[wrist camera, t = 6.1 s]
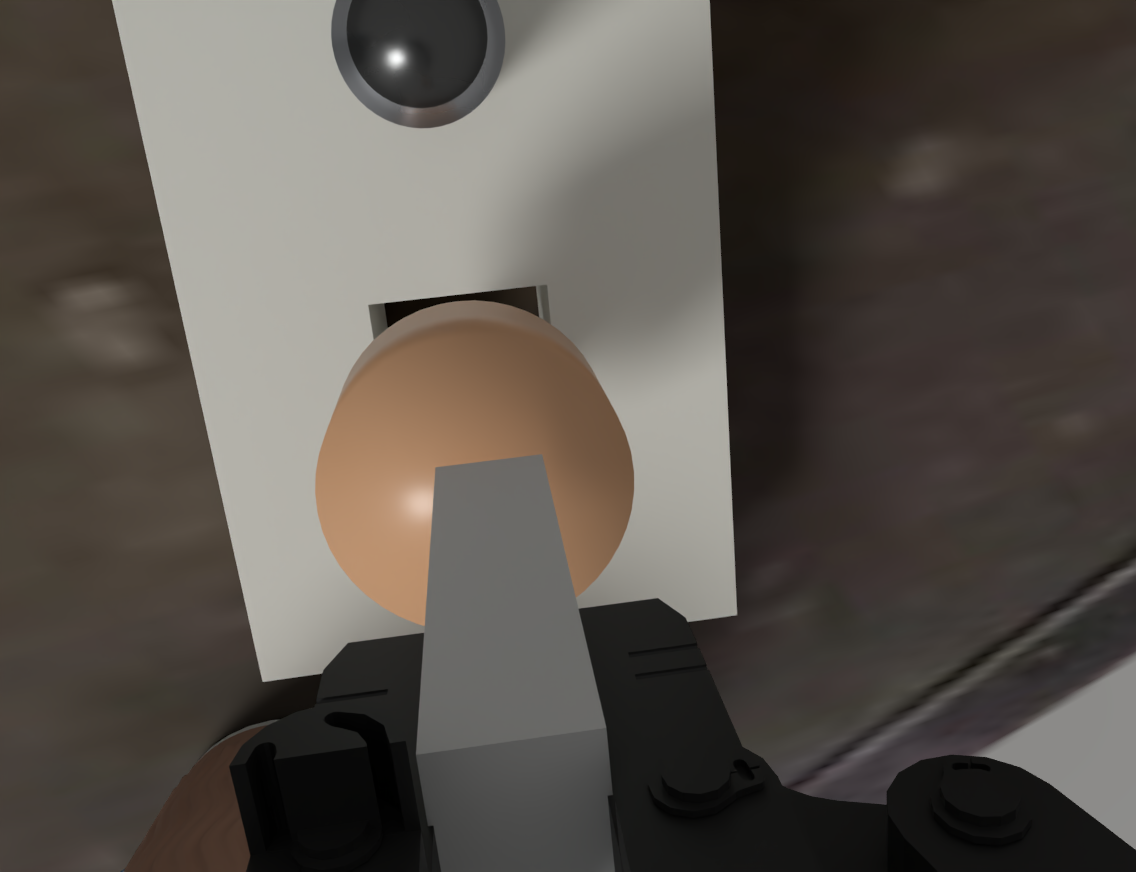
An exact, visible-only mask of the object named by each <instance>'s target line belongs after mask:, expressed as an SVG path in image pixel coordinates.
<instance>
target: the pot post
mask: <svg viewBox="0 0 1136 872" xmlns="http://www.w3.org/2000/svg"><path fill="white" fill-rule="evenodd" d="M331 39H332V48H333V52H334V57H335V60H336V63H337V66H338V69H339V71H340V73H341V75H342V77H343V79H344V81H345V83H346V84H347V86H348V87H349V89H350V90H351V92H352V93H353V94H354V95H355V96H356V97H357V99H358V100H359V101H360V102H361V103H362V104H363V105H365V106H366V107H367V108H368V109H369V110H371V111H372V112H373V113H375V114H376V115H378V116H380V117H382V118H383V119H385V120H387V121H390V122H392V123H395V124H398V125H401V126H406V127H411V128H434V127H440V126H444V125H447V124H450V123H453V122H455V121H457V120H459V119H462V118H463V117H465V116H466V115H468V114H469V113H471V112H472V111H473V110H474V109H476V108H477V107H478V106H479V105H480V104H481V103H482V102H483V101H484V99H485V98H486V97H487V96H488V94H489V93H490V91H491V90H492V88H493V87H494V85H495V83H496V81H497V79H498V76H499V74H500V71H501V68H502V64H503V59H504V54H505V28H504V22H503V17H502V13H501V10H500V7H499V4H498V2H497V0H336V2H335V6H334V9H333V15H332V21H331Z"/></svg>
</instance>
